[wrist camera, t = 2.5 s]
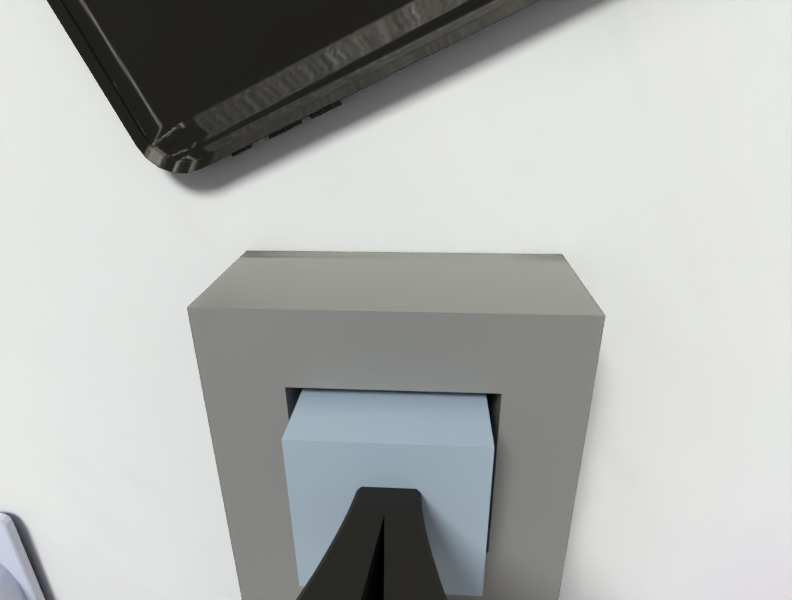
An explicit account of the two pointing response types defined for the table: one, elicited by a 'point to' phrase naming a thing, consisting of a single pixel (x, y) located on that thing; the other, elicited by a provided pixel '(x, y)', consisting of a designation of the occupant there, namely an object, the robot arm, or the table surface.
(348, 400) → the blue key
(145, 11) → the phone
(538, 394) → the key panel
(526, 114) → the table surface
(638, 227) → the table surface
